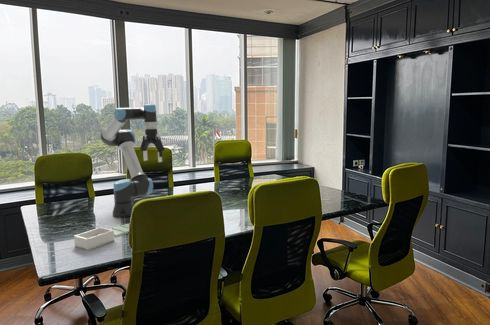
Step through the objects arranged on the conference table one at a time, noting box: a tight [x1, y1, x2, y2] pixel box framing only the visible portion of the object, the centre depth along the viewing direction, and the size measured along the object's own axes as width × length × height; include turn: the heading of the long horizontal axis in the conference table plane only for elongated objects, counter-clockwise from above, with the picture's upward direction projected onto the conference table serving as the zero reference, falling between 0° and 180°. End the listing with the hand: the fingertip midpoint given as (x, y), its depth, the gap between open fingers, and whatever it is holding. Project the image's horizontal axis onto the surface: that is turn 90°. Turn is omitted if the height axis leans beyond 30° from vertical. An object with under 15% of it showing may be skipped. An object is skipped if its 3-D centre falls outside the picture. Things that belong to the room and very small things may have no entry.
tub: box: [73, 226, 115, 252], centre depth 196 cm, size 11×16×6 cm
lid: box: [110, 223, 130, 238], centre depth 218 cm, size 12×21×8 cm, turn 146°
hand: (152, 161), depth 241 cm, fingers open, 13 cm apart
